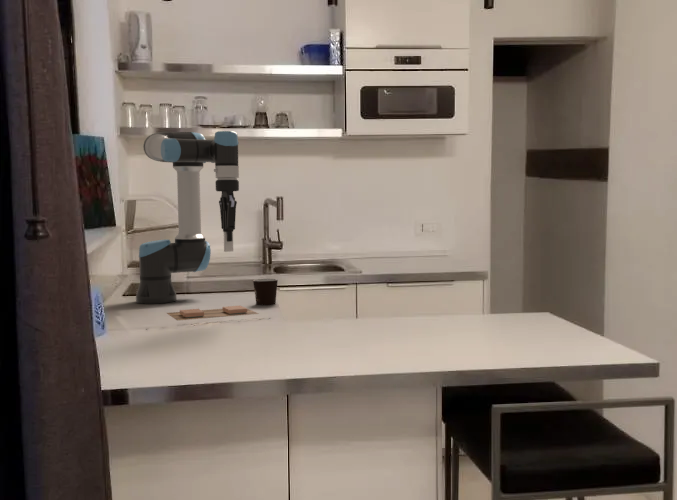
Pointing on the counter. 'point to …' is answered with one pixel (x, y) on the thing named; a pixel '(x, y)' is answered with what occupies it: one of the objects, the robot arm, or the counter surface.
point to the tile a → (192, 313)
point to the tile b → (234, 309)
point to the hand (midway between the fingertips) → (228, 251)
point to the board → (210, 314)
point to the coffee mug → (265, 291)
